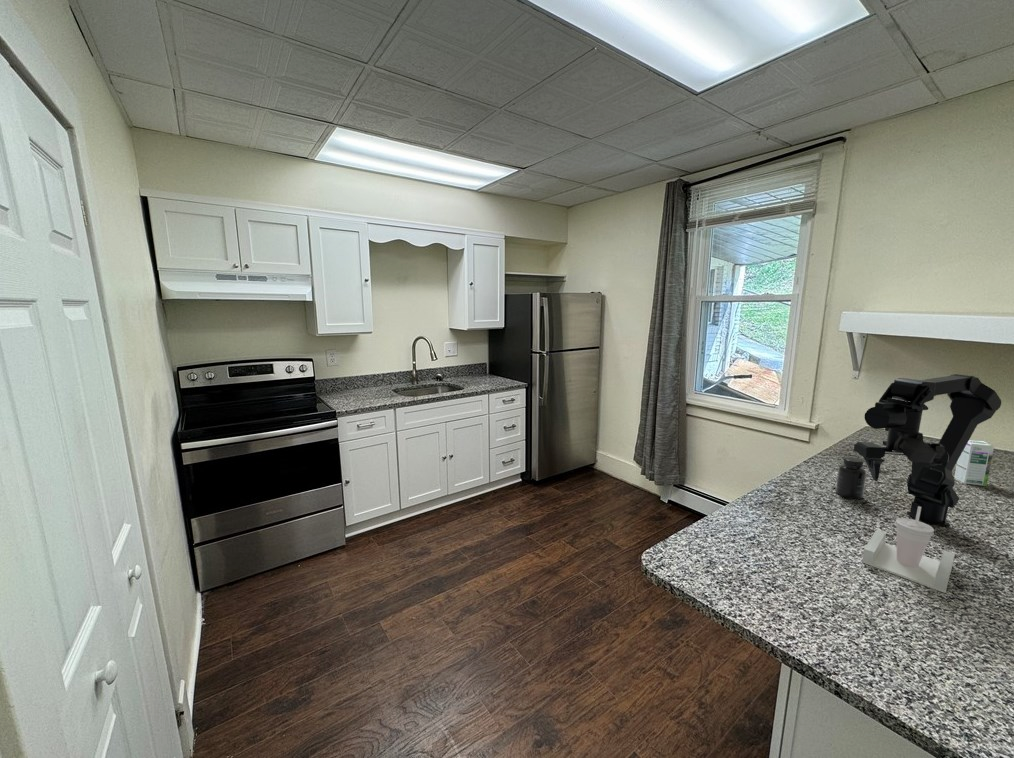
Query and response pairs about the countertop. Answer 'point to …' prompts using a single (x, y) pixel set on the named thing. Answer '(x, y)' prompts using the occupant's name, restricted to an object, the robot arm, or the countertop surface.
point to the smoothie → (912, 540)
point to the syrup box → (974, 463)
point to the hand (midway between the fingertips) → (894, 481)
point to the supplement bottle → (851, 478)
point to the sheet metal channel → (925, 574)
